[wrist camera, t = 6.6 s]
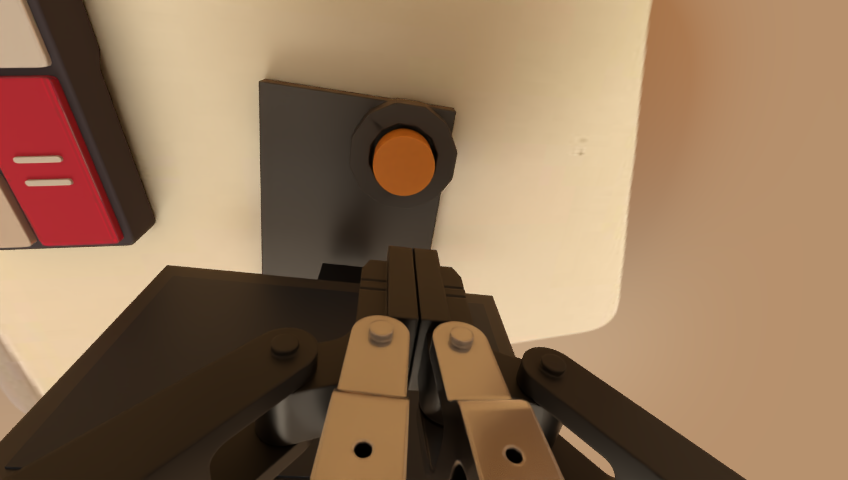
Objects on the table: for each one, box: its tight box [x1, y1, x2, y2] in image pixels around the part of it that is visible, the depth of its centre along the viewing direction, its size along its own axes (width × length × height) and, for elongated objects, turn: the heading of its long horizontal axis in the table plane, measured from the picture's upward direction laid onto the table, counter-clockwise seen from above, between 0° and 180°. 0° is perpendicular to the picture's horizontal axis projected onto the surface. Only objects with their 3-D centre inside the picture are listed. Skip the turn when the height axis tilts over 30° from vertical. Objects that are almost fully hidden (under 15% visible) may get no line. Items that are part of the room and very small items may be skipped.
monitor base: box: [259, 79, 457, 279], centre depth 28 cm, size 15×12×3 cm
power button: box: [373, 128, 435, 196], centre depth 25 cm, size 4×4×2 cm
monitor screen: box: [0, 265, 515, 480], centre depth 18 cm, size 2×18×12 cm, turn 81°
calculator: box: [0, 0, 155, 250], centre depth 24 cm, size 11×4×15 cm
